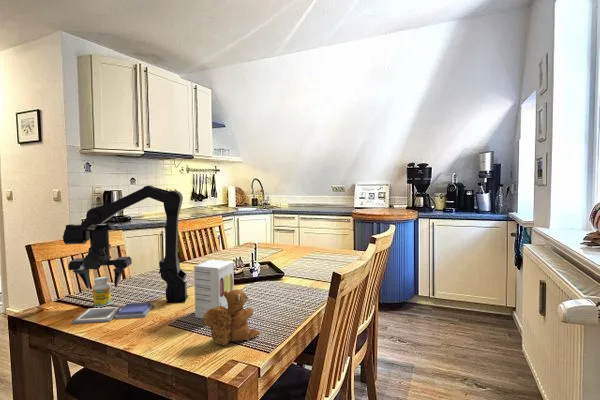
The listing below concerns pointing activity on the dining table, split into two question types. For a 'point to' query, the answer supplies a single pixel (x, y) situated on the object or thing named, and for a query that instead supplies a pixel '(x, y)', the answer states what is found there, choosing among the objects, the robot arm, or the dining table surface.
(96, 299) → the supplement bottle
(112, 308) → the marked board
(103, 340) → the dining table surface
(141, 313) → the ink pad
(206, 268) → the supplement box
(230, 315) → the stuffed squirrel
